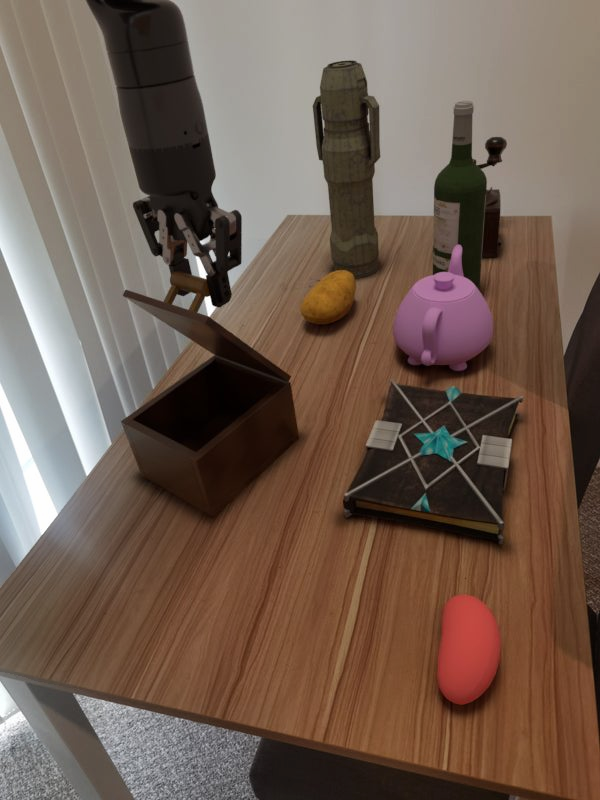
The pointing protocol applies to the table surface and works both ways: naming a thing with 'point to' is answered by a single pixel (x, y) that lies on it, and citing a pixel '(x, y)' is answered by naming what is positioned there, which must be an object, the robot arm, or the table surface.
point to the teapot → (444, 319)
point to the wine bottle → (460, 202)
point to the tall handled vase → (349, 164)
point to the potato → (330, 298)
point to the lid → (203, 324)
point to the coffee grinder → (492, 201)
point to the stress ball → (467, 649)
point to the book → (437, 461)
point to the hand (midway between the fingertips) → (203, 297)
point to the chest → (213, 432)
